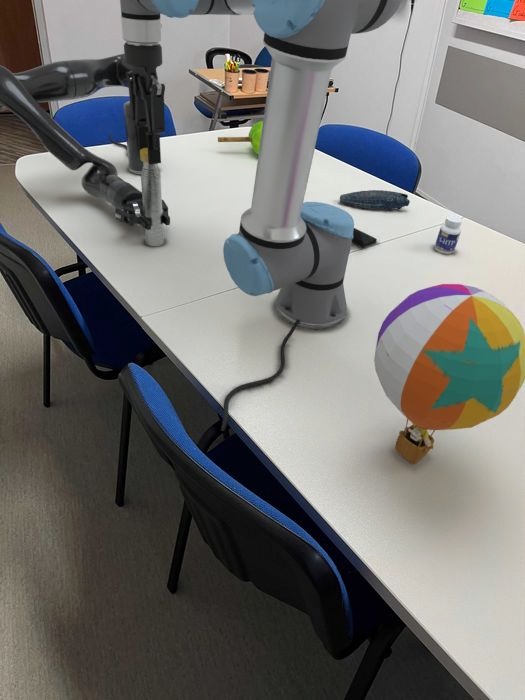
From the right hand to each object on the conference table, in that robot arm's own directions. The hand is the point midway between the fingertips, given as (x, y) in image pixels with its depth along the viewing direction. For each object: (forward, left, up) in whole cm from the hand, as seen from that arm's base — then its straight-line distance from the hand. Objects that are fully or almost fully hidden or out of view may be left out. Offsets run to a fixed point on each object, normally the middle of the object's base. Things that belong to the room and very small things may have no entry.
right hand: (150, 159), depth 119 cm
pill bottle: (+18, -75, -21) cm, 80 cm away
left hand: (-2, -2, -15) cm, 15 cm away
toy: (-57, -60, -21) cm, 86 cm away
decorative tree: (+77, -14, -21) cm, 81 cm away
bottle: (0, 0, -21) cm, 21 cm away
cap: (0, 0, +2) cm, 2 cm away
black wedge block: (+17, -49, -21) cm, 56 cm away
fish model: (+42, -56, -21) cm, 73 cm away
